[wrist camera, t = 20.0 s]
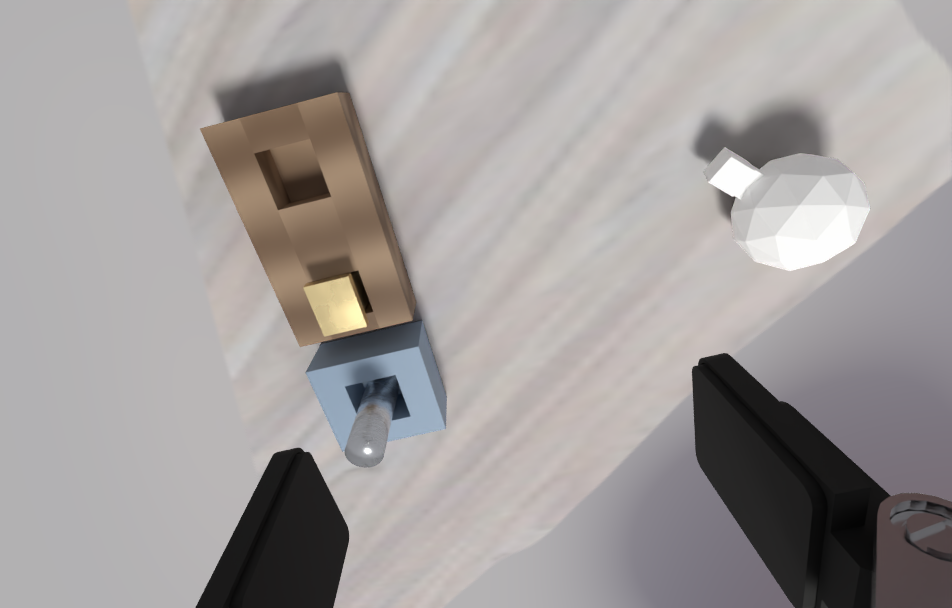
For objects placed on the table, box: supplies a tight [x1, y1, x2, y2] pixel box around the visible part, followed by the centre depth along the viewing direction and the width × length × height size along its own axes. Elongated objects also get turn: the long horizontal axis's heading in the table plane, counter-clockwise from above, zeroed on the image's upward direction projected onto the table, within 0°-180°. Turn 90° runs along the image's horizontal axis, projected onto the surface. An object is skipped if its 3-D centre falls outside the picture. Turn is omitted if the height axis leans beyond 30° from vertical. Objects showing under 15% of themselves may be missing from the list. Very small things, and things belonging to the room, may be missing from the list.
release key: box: [303, 270, 369, 337], centre depth 38 cm, size 4×4×5 cm
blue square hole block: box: [306, 320, 447, 452], centre depth 43 cm, size 9×10×5 cm
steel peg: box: [345, 375, 399, 467], centre depth 40 cm, size 3×3×10 cm
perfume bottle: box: [703, 147, 870, 271], centre depth 36 cm, size 9×9×12 cm
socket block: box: [200, 92, 416, 347], centre depth 37 cm, size 18×10×4 cm, turn 13°
